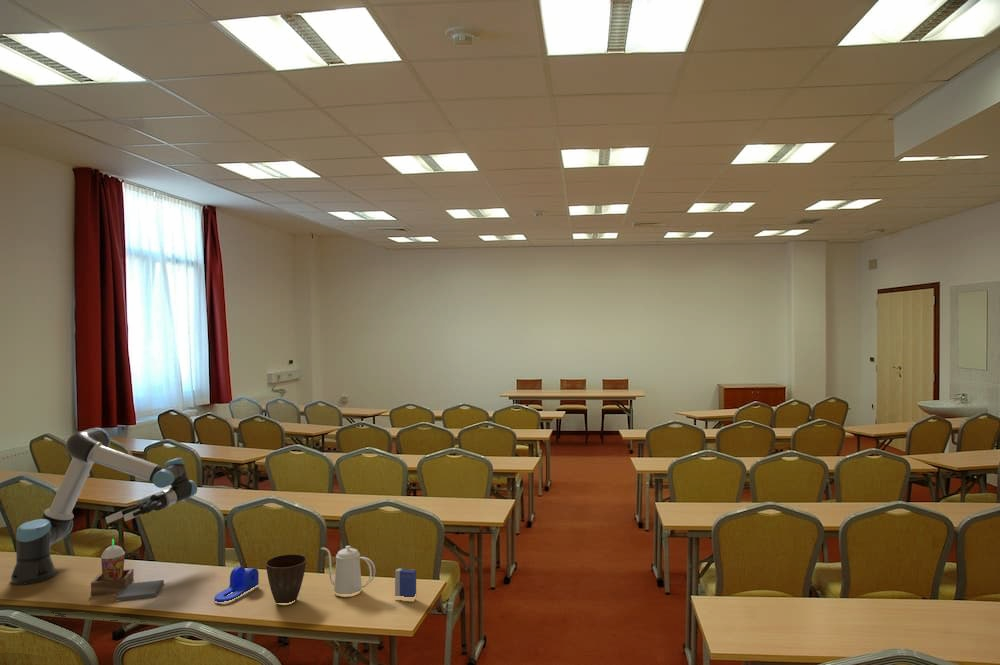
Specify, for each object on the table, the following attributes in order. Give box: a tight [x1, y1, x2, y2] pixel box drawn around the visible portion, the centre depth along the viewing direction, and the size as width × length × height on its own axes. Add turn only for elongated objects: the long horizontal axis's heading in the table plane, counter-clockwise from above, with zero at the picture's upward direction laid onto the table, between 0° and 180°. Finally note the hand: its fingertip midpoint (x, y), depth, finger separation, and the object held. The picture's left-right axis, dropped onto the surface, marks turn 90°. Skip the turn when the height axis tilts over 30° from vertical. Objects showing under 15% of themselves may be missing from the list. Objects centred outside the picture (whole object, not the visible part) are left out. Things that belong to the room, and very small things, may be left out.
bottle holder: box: [90, 568, 135, 596], centre depth 252 cm, size 12×12×5 cm
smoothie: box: [100, 538, 126, 581], centre depth 252 cm, size 8×8×20 cm
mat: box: [114, 579, 165, 602], centre depth 247 cm, size 14×14×2 cm
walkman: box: [394, 567, 417, 597], centre depth 239 cm, size 8×3×12 cm, turn 74°
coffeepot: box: [320, 545, 376, 594], centre depth 247 cm, size 11×25×19 cm, turn 73°
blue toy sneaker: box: [214, 565, 260, 602], centre depth 245 cm, size 18×8×9 cm, turn 164°
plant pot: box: [265, 553, 307, 604], centre depth 238 cm, size 15×15×16 cm
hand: (115, 519), depth 257 cm, fingers open, 13 cm apart
